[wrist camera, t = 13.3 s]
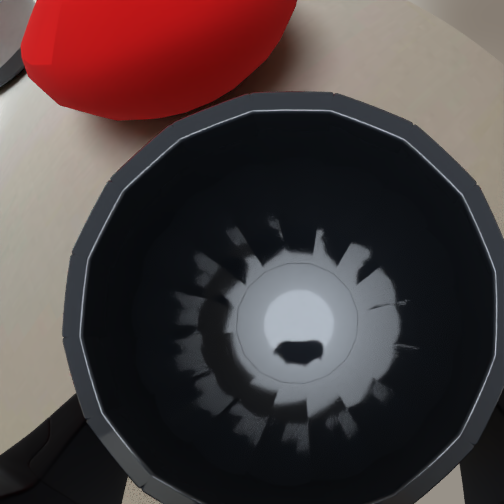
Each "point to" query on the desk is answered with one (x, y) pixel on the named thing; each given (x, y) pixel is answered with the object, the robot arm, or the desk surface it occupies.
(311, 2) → the desk surface
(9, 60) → the planter
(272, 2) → the vase
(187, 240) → the pencil cup
